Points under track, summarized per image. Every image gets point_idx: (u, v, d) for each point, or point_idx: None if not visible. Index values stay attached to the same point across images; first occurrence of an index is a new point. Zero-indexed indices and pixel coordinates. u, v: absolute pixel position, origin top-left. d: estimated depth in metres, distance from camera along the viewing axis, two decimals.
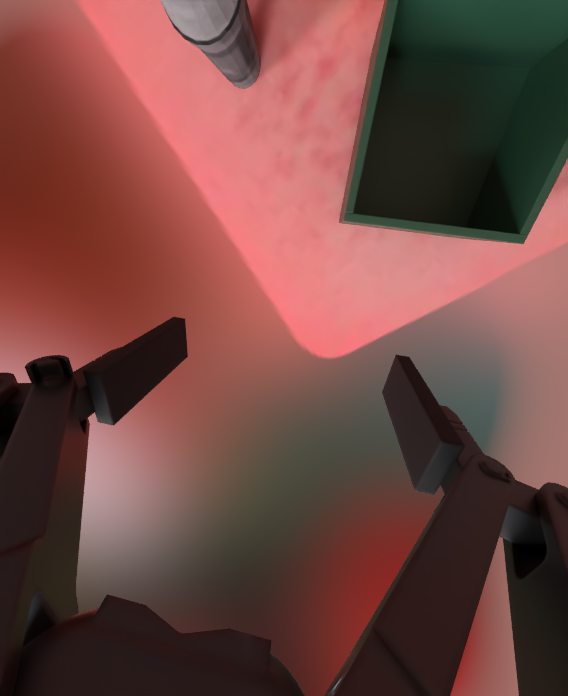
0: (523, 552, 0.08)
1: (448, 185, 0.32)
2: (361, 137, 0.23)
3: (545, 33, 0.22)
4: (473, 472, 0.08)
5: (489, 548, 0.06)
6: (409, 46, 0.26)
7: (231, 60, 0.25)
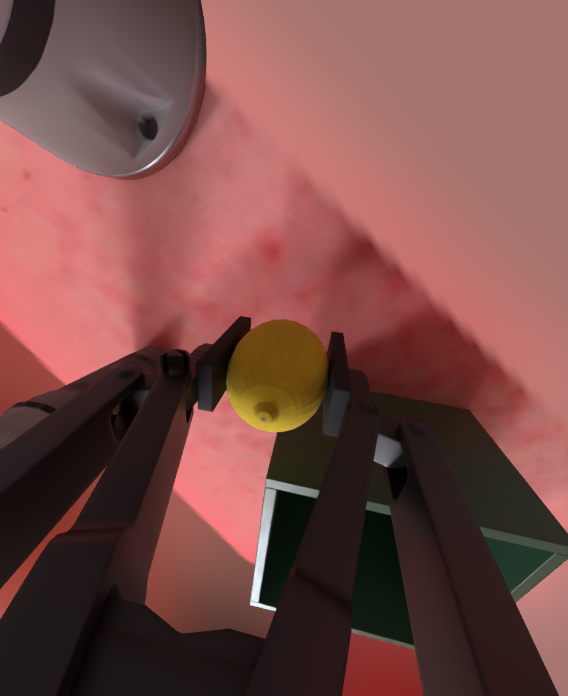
0: (396, 476, 0.10)
1: None
2: (255, 567, 0.20)
3: None
4: (354, 413, 0.10)
5: (369, 466, 0.07)
6: None
7: None
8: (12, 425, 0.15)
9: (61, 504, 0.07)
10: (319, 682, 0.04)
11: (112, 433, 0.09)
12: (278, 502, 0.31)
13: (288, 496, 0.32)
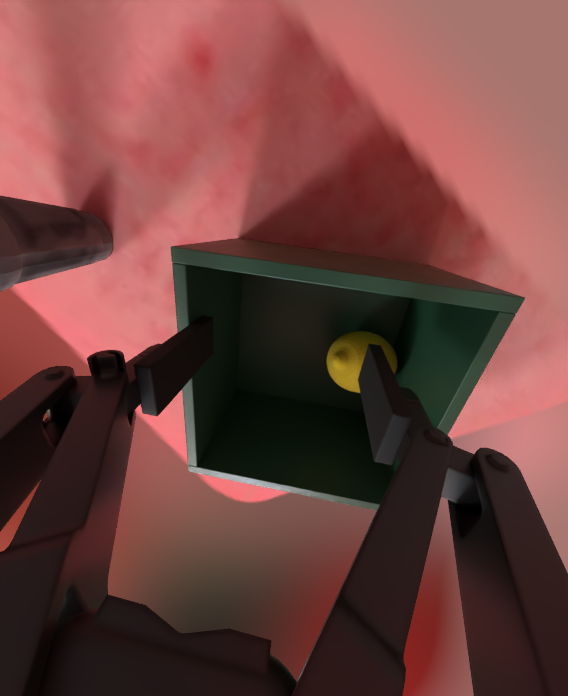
0: (464, 512, 0.09)
1: None
2: (184, 407, 0.18)
3: None
4: (419, 441, 0.09)
5: (434, 505, 0.07)
6: None
7: None
8: None
9: None
10: None
11: (47, 438, 0.09)
12: (234, 397, 0.29)
13: (246, 394, 0.29)
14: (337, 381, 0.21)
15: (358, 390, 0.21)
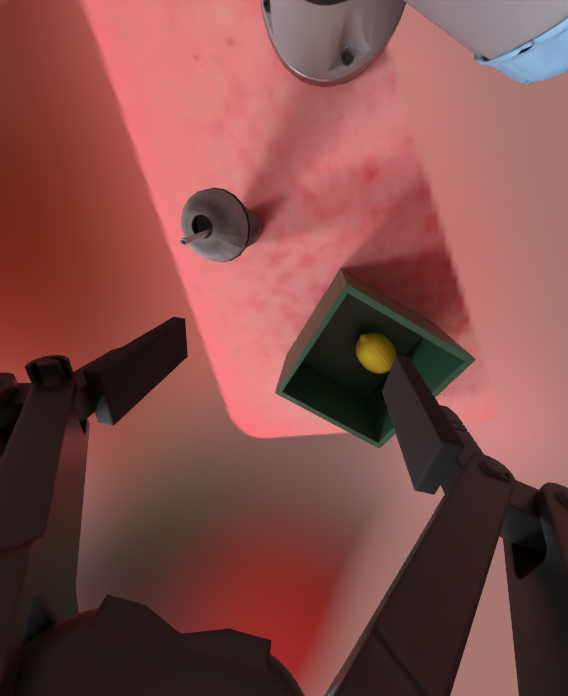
0: (523, 551, 0.08)
1: None
2: (299, 356, 0.32)
3: None
4: (473, 472, 0.08)
5: (489, 548, 0.06)
6: None
7: None
8: (223, 194, 0.24)
9: None
10: None
11: None
12: None
13: None
14: (357, 349, 0.38)
15: (365, 357, 0.37)
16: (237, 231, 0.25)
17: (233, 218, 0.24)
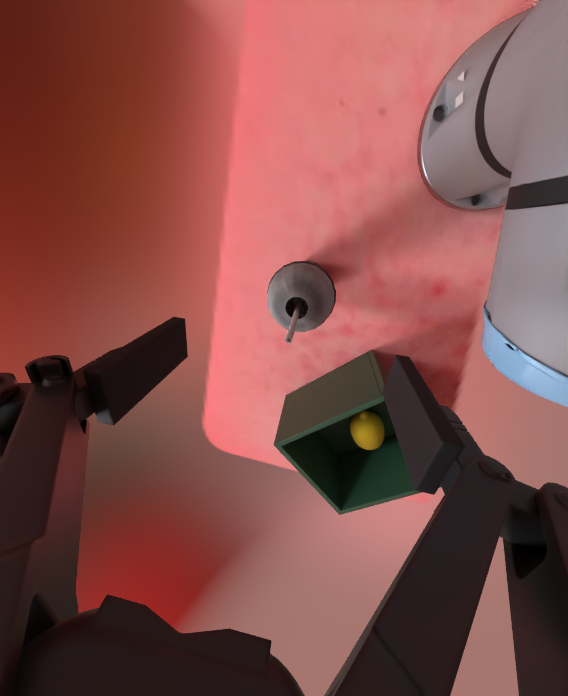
0: (523, 551, 0.08)
1: (349, 433, 0.47)
2: (313, 427, 0.33)
3: None
4: (473, 472, 0.08)
5: (489, 548, 0.06)
6: None
7: None
8: (327, 282, 0.23)
9: None
10: None
11: None
12: None
13: None
14: (354, 422, 0.41)
15: (358, 433, 0.40)
16: (323, 320, 0.24)
17: (326, 310, 0.24)
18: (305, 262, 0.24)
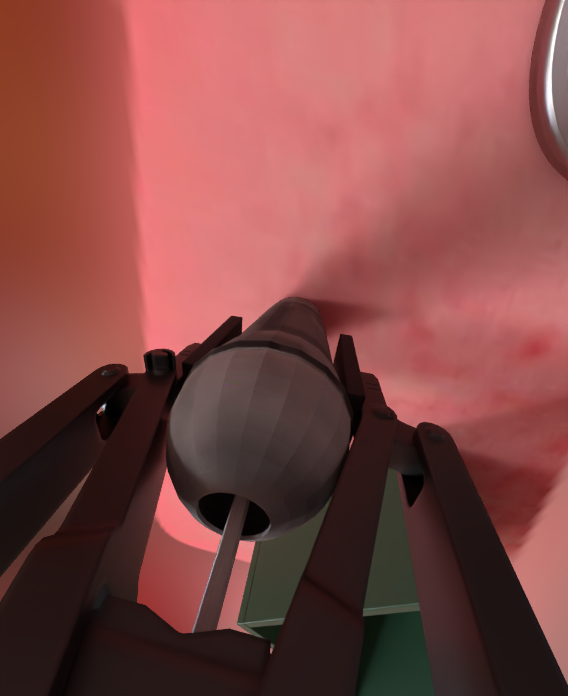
0: (411, 482, 0.09)
1: None
2: None
3: None
4: (368, 418, 0.09)
5: (383, 473, 0.07)
6: None
7: None
8: (331, 415, 0.08)
9: (47, 506, 0.07)
10: (329, 692, 0.03)
11: (98, 433, 0.09)
12: None
13: None
14: None
15: None
16: None
17: (331, 493, 0.08)
18: (268, 345, 0.09)
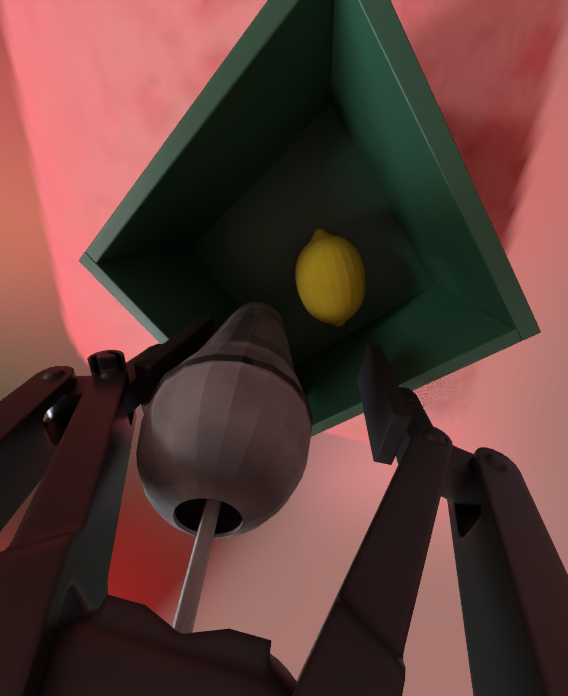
0: (463, 511, 0.09)
1: (305, 318, 0.25)
2: (147, 169, 0.12)
3: (445, 272, 0.17)
4: (419, 441, 0.09)
5: (433, 505, 0.07)
6: (354, 130, 0.17)
7: None
8: (297, 425, 0.09)
9: None
10: None
11: (47, 438, 0.09)
12: (182, 251, 0.22)
13: (196, 261, 0.24)
14: None
15: (306, 266, 0.18)
16: None
17: (293, 491, 0.09)
18: (242, 360, 0.09)
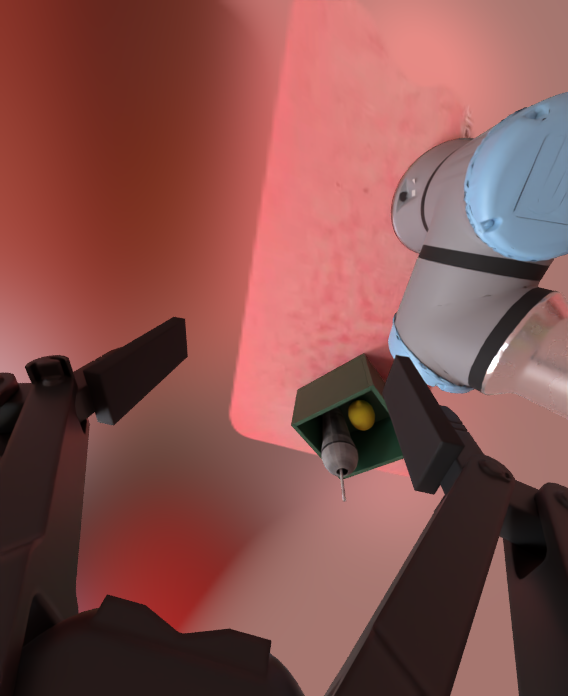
0: (523, 551, 0.08)
1: (348, 419, 0.59)
2: (320, 411, 0.46)
3: None
4: (473, 472, 0.08)
5: (489, 548, 0.06)
6: None
7: None
8: (356, 455, 0.46)
9: None
10: None
11: None
12: None
13: None
14: (351, 408, 0.54)
15: (354, 416, 0.53)
16: None
17: (355, 468, 0.47)
18: (344, 442, 0.47)
